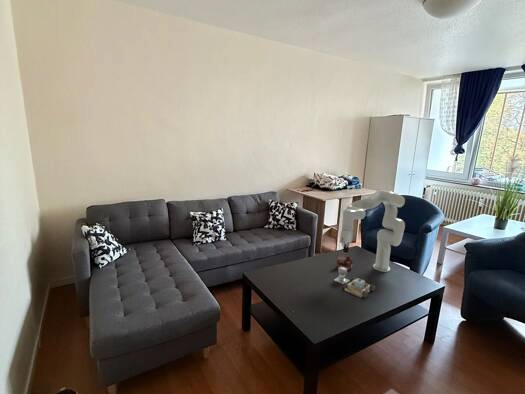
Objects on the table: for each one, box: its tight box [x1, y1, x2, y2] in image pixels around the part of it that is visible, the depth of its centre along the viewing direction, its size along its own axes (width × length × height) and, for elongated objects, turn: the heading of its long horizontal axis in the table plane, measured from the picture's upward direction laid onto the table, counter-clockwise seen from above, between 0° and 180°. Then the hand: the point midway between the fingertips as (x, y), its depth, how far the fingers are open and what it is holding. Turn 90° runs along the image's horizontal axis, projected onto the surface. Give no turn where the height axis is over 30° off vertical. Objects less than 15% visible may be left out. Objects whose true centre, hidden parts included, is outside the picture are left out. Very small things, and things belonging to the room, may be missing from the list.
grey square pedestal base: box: [333, 273, 351, 285], centre depth 197 cm, size 8×8×6 cm
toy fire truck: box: [336, 255, 354, 271], centre depth 216 cm, size 7×12×10 cm, turn 81°
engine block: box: [354, 277, 366, 290], centre depth 186 cm, size 5×5×6 cm
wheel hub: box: [337, 266, 348, 276], centre depth 196 cm, size 6×6×3 cm
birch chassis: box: [342, 276, 376, 299], centre depth 186 cm, size 16×16×4 cm
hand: (345, 251), depth 193 cm, fingers closed
